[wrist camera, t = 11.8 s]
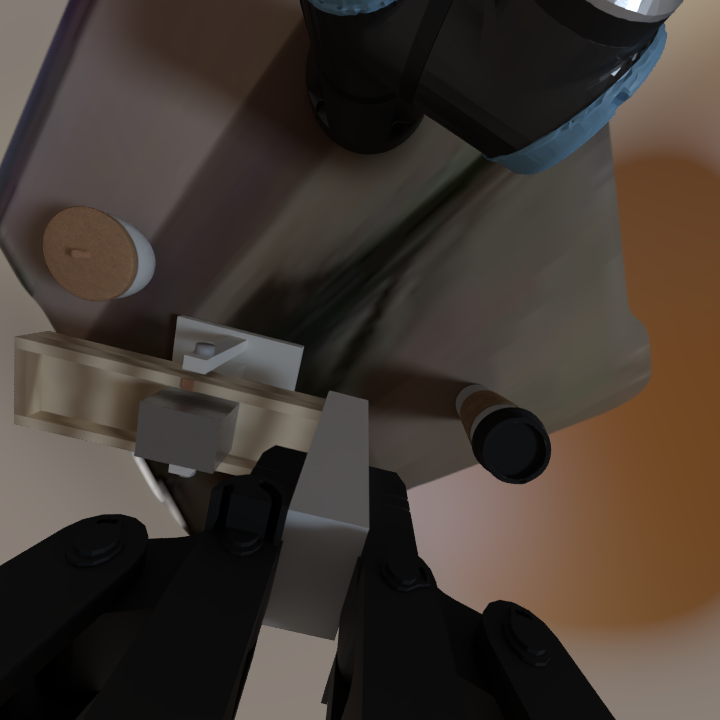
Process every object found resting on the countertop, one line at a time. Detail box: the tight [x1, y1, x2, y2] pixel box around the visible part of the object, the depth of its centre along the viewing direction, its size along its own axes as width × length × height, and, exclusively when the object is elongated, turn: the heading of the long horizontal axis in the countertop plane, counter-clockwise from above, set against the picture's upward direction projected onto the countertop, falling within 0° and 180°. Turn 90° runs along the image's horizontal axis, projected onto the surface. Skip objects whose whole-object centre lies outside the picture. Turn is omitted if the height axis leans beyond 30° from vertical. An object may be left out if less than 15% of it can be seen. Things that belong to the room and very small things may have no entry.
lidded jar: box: [43, 207, 155, 301], centre depth 42 cm, size 11×11×9 cm
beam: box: [14, 331, 326, 475], centre depth 38 cm, size 36×10×4 cm, turn 76°
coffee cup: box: [455, 384, 551, 484], centre depth 43 cm, size 8×8×15 cm
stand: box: [169, 315, 304, 477], centre depth 44 cm, size 18×16×14 cm
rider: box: [134, 386, 240, 474], centre depth 36 cm, size 8×6×5 cm
